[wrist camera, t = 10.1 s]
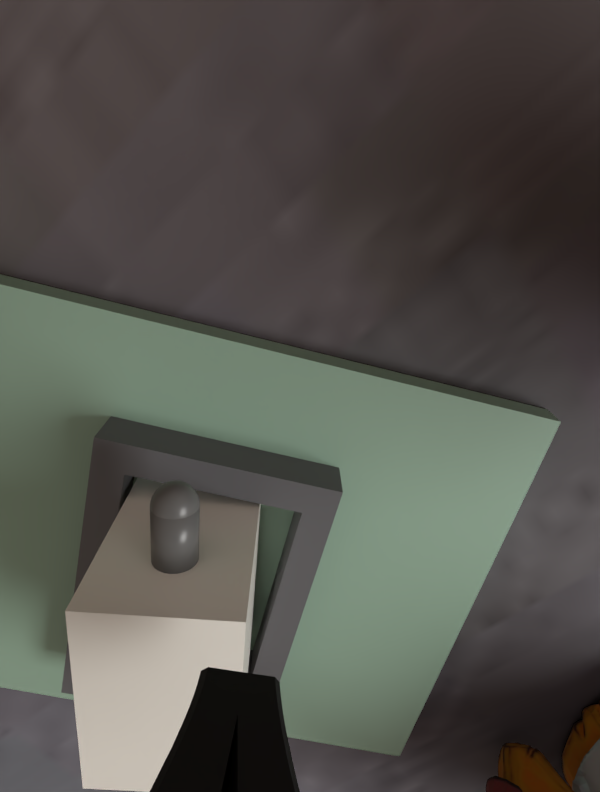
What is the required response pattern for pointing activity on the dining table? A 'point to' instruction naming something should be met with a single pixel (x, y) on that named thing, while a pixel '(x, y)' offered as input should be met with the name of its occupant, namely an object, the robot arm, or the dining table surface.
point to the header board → (257, 496)
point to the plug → (157, 624)
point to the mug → (536, 778)
